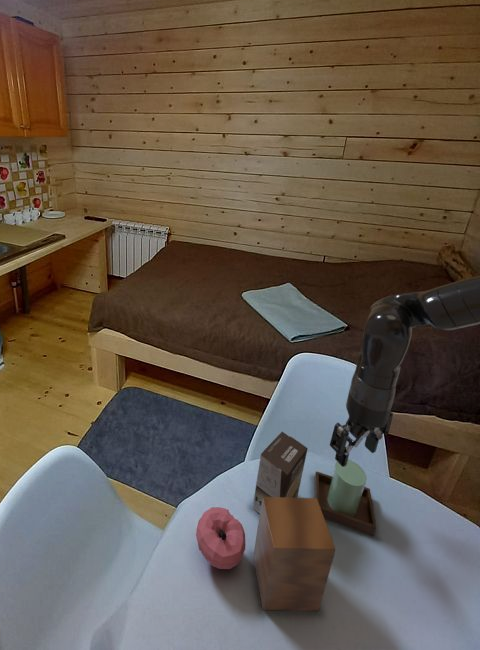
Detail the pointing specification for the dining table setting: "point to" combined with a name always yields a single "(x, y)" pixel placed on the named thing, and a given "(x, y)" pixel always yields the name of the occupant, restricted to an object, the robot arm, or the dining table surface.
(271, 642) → the dining table surface
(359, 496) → the pale green cylinder
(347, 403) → the robot arm
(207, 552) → the apple
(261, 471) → the coffee box
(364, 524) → the tray
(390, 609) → the dining table surface
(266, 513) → the stand
